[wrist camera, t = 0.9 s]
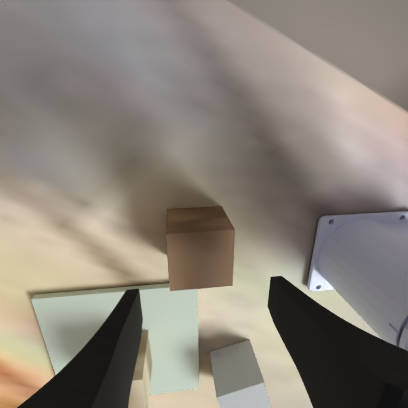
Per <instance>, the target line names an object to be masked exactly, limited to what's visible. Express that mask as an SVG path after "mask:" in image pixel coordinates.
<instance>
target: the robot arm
mask: <svg viewBox="0 0 408 408" xmlns="http://www.w3.org/2000/svg"><path fill="white" fill-rule="evenodd" d="M330 220H331V222H330V223H329V221H330ZM317 285H318V286H317ZM307 287H308V289H309V290H310V291H321V290H332V289H335V290H336V291H337V292H338V293H339V294H340V295H341V296H342V297H343V299H344V300H345V301H346V302H347V303H348V304H349V305H350V306H351V307H352V308H353V309H354V310H355V311H356V312H357V313H358V314H359V315H360V316H361V317H362V319H363V320H364V321H365V322H366V323H367V324H368V325H369V326H370V327H371V328H372V329H373V330H374V331H375V332H376V333H377V334H378V335H379V336H380V337H381V339H380V338H378V337H375V336H373V335H371V334H369V333H367V332H365V331H363V330H361V329H360V328H358V327H356V326H354V325H352V324H350V323H349V322H347V321H345V320H343V319H342V318H340V317H338V316H337V315H335V314H334V313H332V312H330V311H329V310H327V309H326V308H324V307H323V306H321V305H320V304H318V303H317V302H316V301H314V300H313V299H311V298H310V297H309V296H307V295H306V294H305V293H303V292H302V291H301V290H299V289H298V288H297V287H295V286H294V285H293V284H291V283H290V282H289V281H287V280H286V279H285V278H283V277H282V276H276V277H271V280H270V289H269V298H268V308H269V311H270V314H271V317H272V319H273V322H274V324H275V326H276V328H277V330H278V332H279V334H280V336H281V338H282V340H283V342H284V344H285V346H286V348H287V350H288V352H289V354H290V356H291V357H292V359H293V361H294V363H295V365H296V367H297V369H298V372H299V374H300V376H301V378H302V381H303V383H304V386H305V388H306V390H307V393H308V395H309V398H310V400H311V403H312V406H313V408H408V211H400V212H382V213H364V214H347V215H329V216H322V217H321V218H320V219H319V221H318V227H317V233H316V238H315V244H314V250H313V255H312V261H311V267H310V272H309V278H308V284H307ZM142 323H143V316H142V308H141V300H140V292H139V289H129V290H126V291H125V293H124V294H123V296H122V297H121V299H120V301H119V302H118V304H117V305H116V306H115V308H114V309H113V311H112V312H111V314H110V315H109V316H108V318H107V319H106V320H105V322H104V323H103V324H102V326H101V327H100V328H99V329H98V331H97V332H96V333H95V334H94V335H93V337H92V338H91V339H90V340H89V341H88V343H87V344H86V345H85V346H84V347H83V348H82V349H81V350H80V351H79V353H78V354H77V355H76V356H75V357H74V358H73V359H72V360H71V361H70V362H69V363H68V364H67V365H66V366H65V367H64V368H63V369H62V370H61V371H60V372H59V373H58V374H56V375H55V376H54V377H53V378H52V379H51V380H50V381H49V382H48V383H46V384H45V385H44V386H43V387H42V388H41V389H39V390H38V391H37V392H36V393H35V394H34V395H32V396H31V397H30V398H29V399H28V400H26V401H25V402H24V403H23V404H21V405H20V406H19V407H17V408H128V405H129V397H130V391H131V385H132V381H133V376H134V371H135V366H136V361H137V356H138V351H139V346H140V341H141V333H142Z"/></svg>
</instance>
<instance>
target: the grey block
mask: <svg viewBox="0 0 408 408" xmlns="http://www.w3.org/2000/svg"><path fill="white" fill-rule="evenodd" d="M210 358H211V364H212V371H213V377H214V384H215V390H216V396H217V400H218V402H219V405H220V407H221V408H271V405H270V401H269V397H268V394H267V390H266V386H265V383H264V380H263V377H262V374H261V371H260V368H259V365H258V363H257V360H256V357H255V354H254V351H253V348H252V345H251V342H250V340H246V341H243V342H240V343H236V344H233V345H230V346H227V347H224V348H221V349H217V350H214V351H211V352H210Z"/></svg>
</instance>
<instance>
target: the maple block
mask: <svg viewBox="0 0 408 408" xmlns="http://www.w3.org/2000/svg"><path fill="white" fill-rule="evenodd" d="M151 372H152V357H151V349H150V340H149V332H148V330H147V331H142V333H141V341H140V346H139V351H138V356H137V361H136V366H135V371H134V376H133V381H132V385H131V391H130V397H129V405H128V408H148V406H149V394H150V383H151Z"/></svg>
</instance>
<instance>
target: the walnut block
mask: <svg viewBox="0 0 408 408" xmlns="http://www.w3.org/2000/svg"><path fill="white" fill-rule="evenodd" d="M234 236H235V229H234V227H233V226H232V224H231V222H230V220H229V218H228V217H227V215H226V213H225V211H224V210H223V208H222V206H220V207H200V208H180V209H167V223H166V244H167V258H168V272H169V286H170V291H178V290H189V289H200V288H211V287H222V286H232V283H233V259H234Z"/></svg>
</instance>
